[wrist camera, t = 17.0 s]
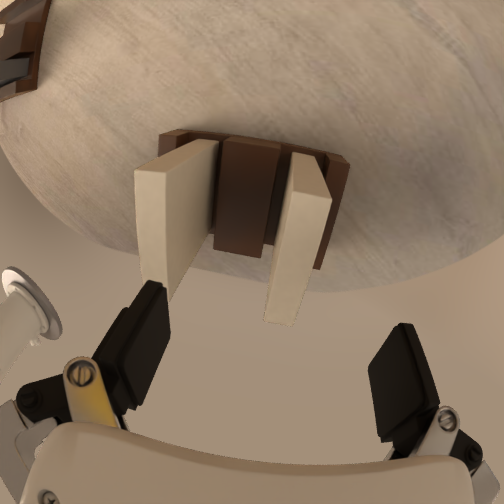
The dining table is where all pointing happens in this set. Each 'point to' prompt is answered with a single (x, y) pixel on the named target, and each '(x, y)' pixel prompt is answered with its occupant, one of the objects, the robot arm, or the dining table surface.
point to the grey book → (13, 70)
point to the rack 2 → (257, 188)
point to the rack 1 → (23, 41)
